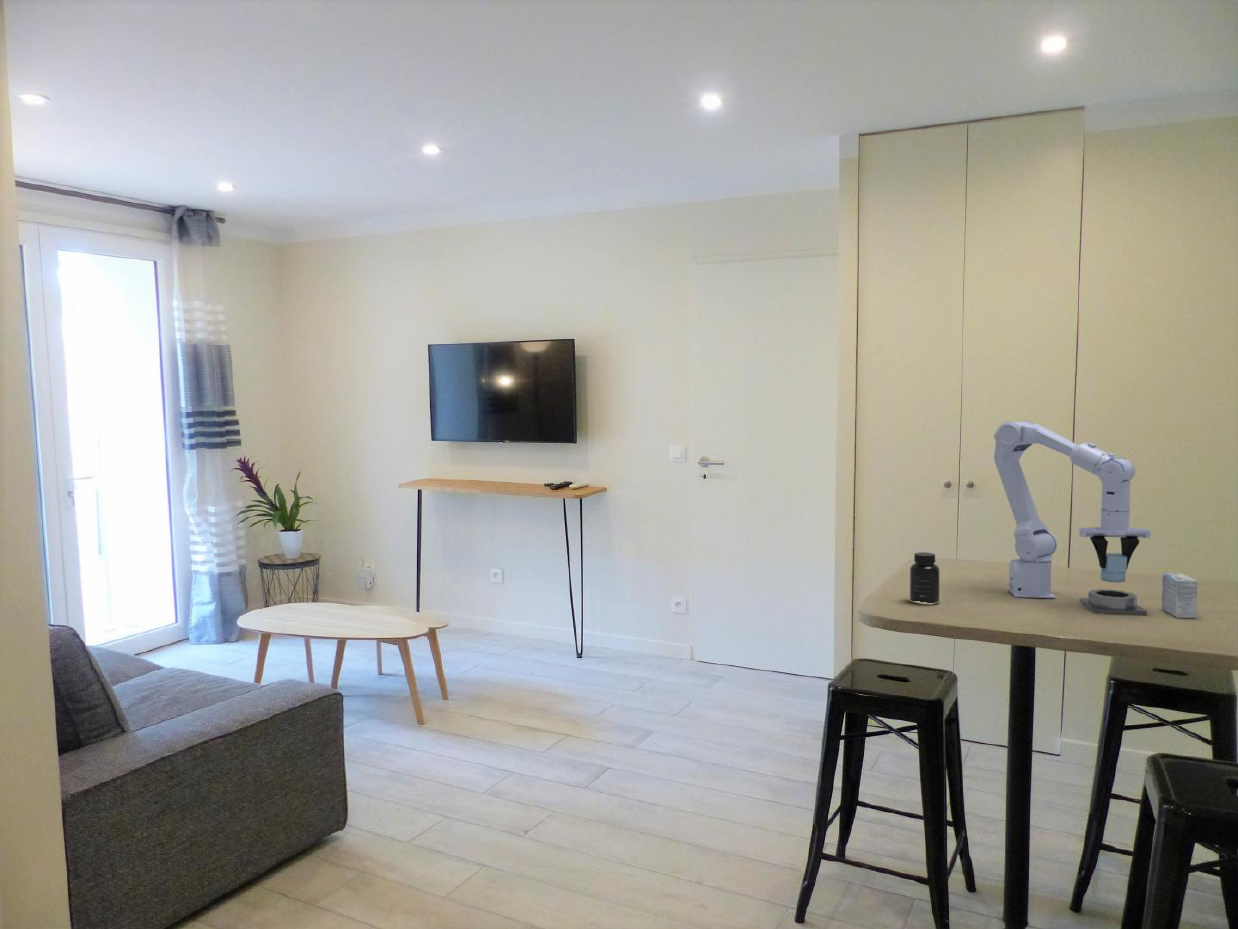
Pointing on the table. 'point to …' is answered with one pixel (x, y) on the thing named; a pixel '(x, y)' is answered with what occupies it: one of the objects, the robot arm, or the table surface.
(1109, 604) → the square plate with ring
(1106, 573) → the pale blue block
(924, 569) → the supplement bottle
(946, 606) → the table surface
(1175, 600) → the medicine box
